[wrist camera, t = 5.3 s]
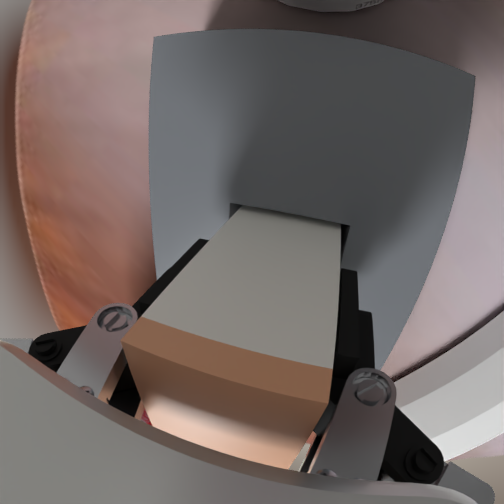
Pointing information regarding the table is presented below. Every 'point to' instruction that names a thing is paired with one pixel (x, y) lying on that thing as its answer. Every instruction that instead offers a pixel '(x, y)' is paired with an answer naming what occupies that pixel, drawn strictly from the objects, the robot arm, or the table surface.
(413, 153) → the grey peg hole base
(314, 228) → the plug
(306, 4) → the supplement can
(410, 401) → the white faceted bar
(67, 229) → the table surface
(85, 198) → the table surface
